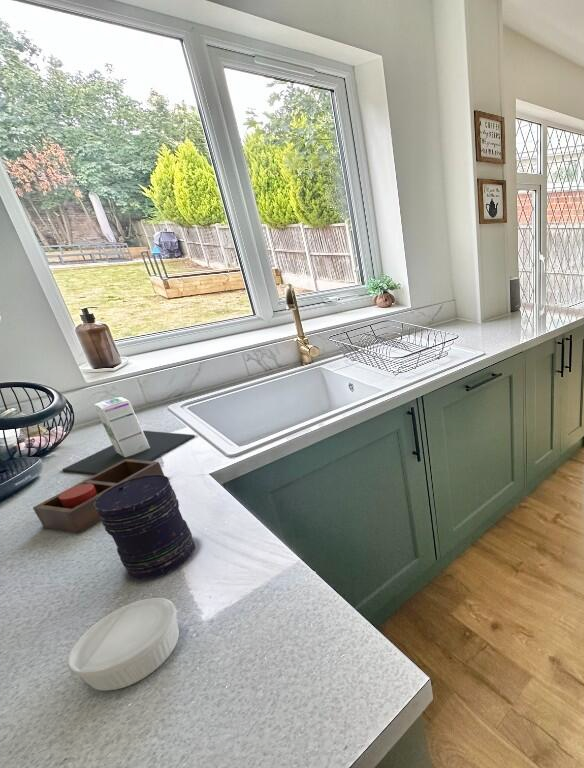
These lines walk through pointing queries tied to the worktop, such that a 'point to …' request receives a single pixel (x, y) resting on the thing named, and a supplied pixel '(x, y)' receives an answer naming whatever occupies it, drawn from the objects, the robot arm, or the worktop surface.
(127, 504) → the dark blue cylinder
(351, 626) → the worktop surface
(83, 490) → the spice tin
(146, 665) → the ramekin
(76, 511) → the caddy
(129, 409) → the syrup box
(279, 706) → the worktop surface
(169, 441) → the mat
